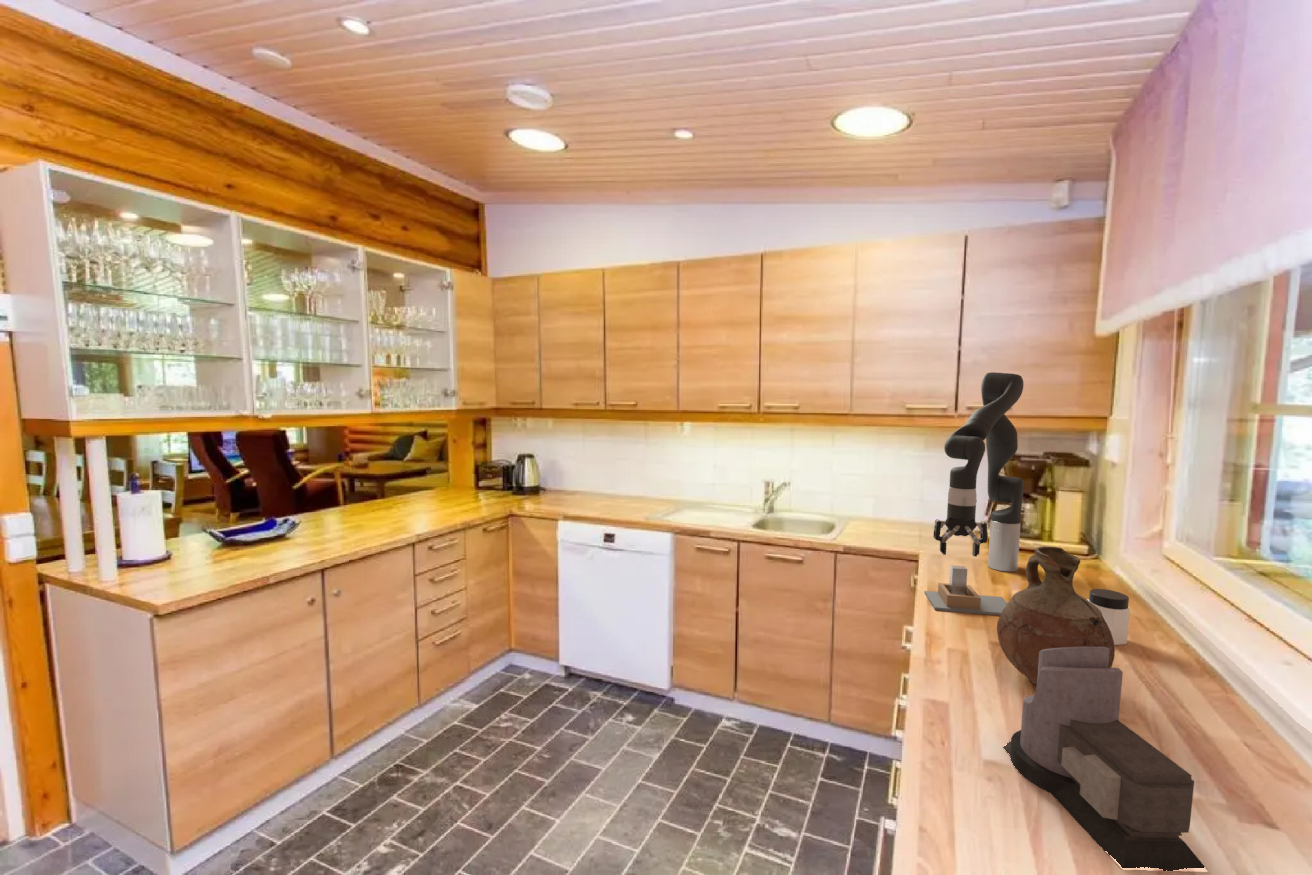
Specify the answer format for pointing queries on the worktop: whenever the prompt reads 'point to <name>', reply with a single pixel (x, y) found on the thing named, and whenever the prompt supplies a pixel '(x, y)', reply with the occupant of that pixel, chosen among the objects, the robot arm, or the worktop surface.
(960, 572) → the block
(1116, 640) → the jar
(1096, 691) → the brown blocky piece
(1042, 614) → the jug
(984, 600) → the board
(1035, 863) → the worktop surface
